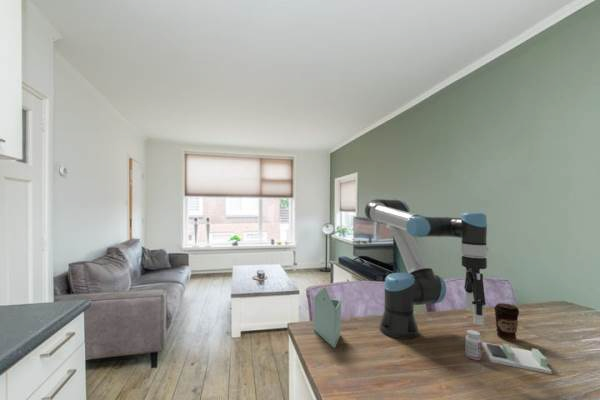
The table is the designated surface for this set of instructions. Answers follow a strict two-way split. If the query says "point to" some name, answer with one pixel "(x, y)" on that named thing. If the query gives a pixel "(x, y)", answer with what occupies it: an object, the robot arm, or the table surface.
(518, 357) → the dock
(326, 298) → the green magazine holder
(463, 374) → the table surface
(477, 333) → the pill bottle
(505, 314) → the coffee cup
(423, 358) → the table surface
